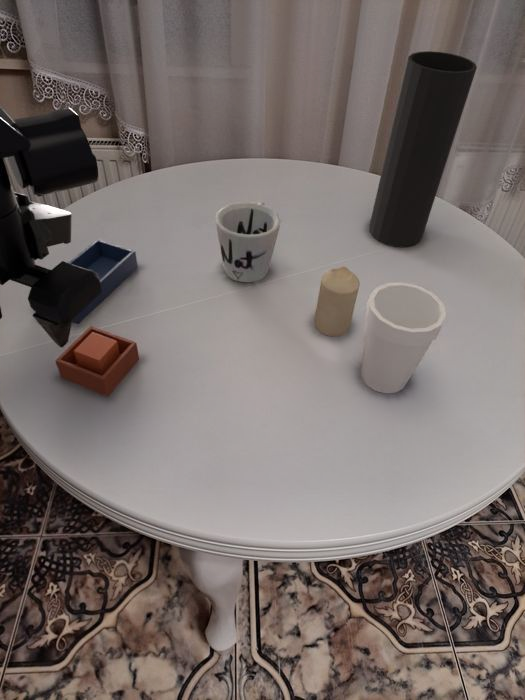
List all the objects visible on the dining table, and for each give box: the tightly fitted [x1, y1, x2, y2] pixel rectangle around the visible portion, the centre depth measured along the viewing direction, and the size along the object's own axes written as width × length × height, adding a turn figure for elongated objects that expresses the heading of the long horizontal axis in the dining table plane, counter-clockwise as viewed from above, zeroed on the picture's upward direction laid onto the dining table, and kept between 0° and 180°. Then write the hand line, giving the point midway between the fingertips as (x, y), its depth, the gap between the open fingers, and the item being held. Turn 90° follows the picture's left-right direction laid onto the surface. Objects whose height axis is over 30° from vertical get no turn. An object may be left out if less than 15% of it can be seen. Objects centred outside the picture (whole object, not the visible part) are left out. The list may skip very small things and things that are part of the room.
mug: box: [214, 201, 282, 283], centre depth 86 cm, size 10×15×10 cm
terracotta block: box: [74, 332, 120, 376], centre depth 68 cm, size 4×4×4 cm
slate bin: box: [68, 238, 138, 325], centre depth 81 cm, size 8×16×3 cm, turn 157°
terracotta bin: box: [54, 325, 140, 398], centre depth 69 cm, size 8×8×3 cm
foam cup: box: [361, 281, 447, 394], centre depth 67 cm, size 10×9×13 cm
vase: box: [368, 50, 478, 248], centre depth 88 cm, size 10×10×30 cm
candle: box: [313, 266, 361, 337], centre depth 75 cm, size 6×6×10 cm
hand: (30, 331), depth 57 cm, fingers open, 9 cm apart
